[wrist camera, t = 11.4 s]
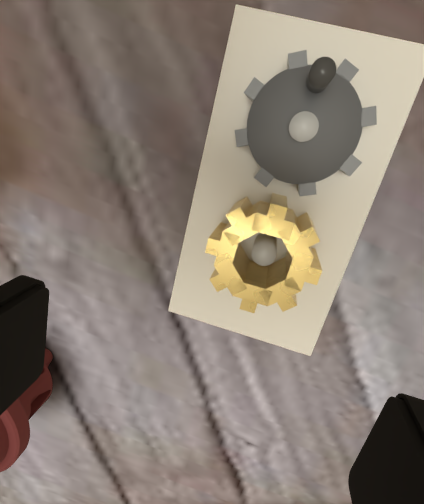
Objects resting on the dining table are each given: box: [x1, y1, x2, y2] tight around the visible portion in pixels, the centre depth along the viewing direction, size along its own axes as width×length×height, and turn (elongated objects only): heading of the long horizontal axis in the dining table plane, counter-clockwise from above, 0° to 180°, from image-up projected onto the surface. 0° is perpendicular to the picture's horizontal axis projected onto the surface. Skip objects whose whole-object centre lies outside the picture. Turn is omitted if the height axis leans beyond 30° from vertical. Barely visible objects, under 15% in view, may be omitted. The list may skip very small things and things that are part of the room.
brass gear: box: [205, 193, 322, 313], centre depth 23 cm, size 7×7×4 cm
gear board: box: [168, 4, 424, 356], centre depth 22 cm, size 22×12×7 cm, turn 166°
